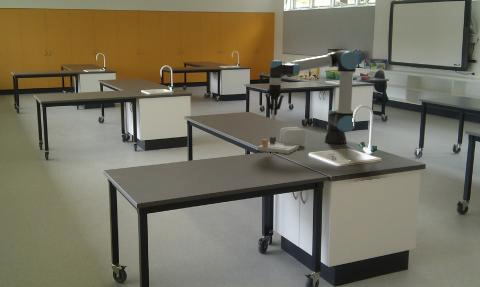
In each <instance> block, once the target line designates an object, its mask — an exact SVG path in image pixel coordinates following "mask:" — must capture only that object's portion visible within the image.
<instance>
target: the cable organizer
mask: <svg viewBox="0 0 480 287" xmlns="http://www.w3.org/2000/svg"><path fill="white" fill-rule="evenodd" d="M279 143H283V144H291V145H299V147H302V146H304V145H305V144H306V131H305V129H303V128H302V129H301V128H300V127H298V126H296V127H295V126H294V127H292V126H291V127H281V128H280V130H279Z"/></svg>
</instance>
